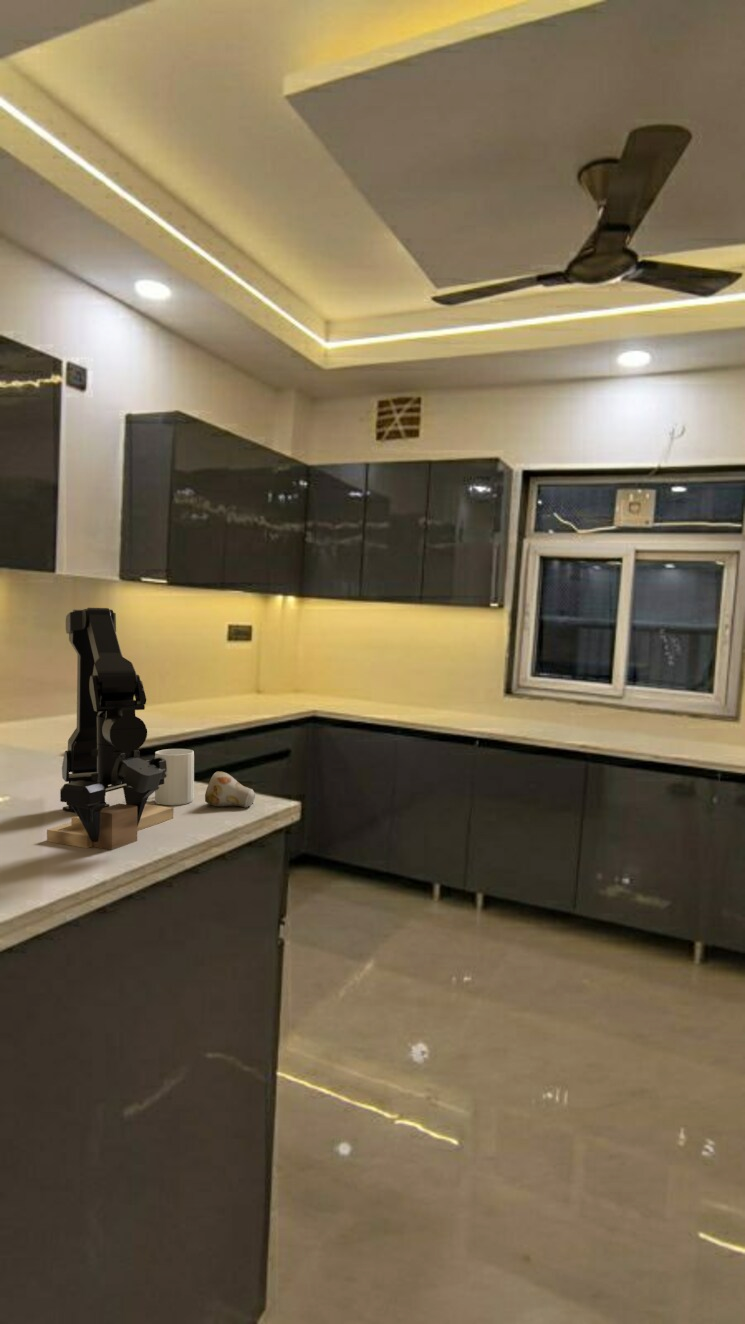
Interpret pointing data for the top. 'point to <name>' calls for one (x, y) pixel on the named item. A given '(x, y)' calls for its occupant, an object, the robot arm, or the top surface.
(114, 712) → the robot arm
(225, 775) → the patterned white vase
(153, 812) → the board
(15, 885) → the top surface
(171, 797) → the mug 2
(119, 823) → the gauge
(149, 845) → the top surface
